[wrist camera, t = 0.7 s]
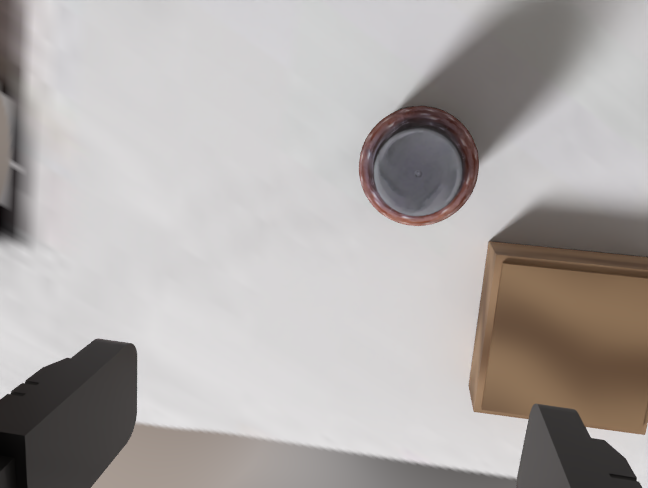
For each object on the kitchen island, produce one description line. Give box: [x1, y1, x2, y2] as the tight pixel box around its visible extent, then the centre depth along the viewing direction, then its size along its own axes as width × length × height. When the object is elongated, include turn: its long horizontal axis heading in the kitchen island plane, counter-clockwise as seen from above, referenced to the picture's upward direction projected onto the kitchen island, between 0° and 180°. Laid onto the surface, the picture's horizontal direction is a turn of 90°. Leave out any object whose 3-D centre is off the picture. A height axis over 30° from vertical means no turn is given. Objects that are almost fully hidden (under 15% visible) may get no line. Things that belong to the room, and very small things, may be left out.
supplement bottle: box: [359, 106, 479, 226], centre depth 32 cm, size 6×6×11 cm
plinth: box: [469, 241, 648, 435], centre depth 37 cm, size 10×10×4 cm
